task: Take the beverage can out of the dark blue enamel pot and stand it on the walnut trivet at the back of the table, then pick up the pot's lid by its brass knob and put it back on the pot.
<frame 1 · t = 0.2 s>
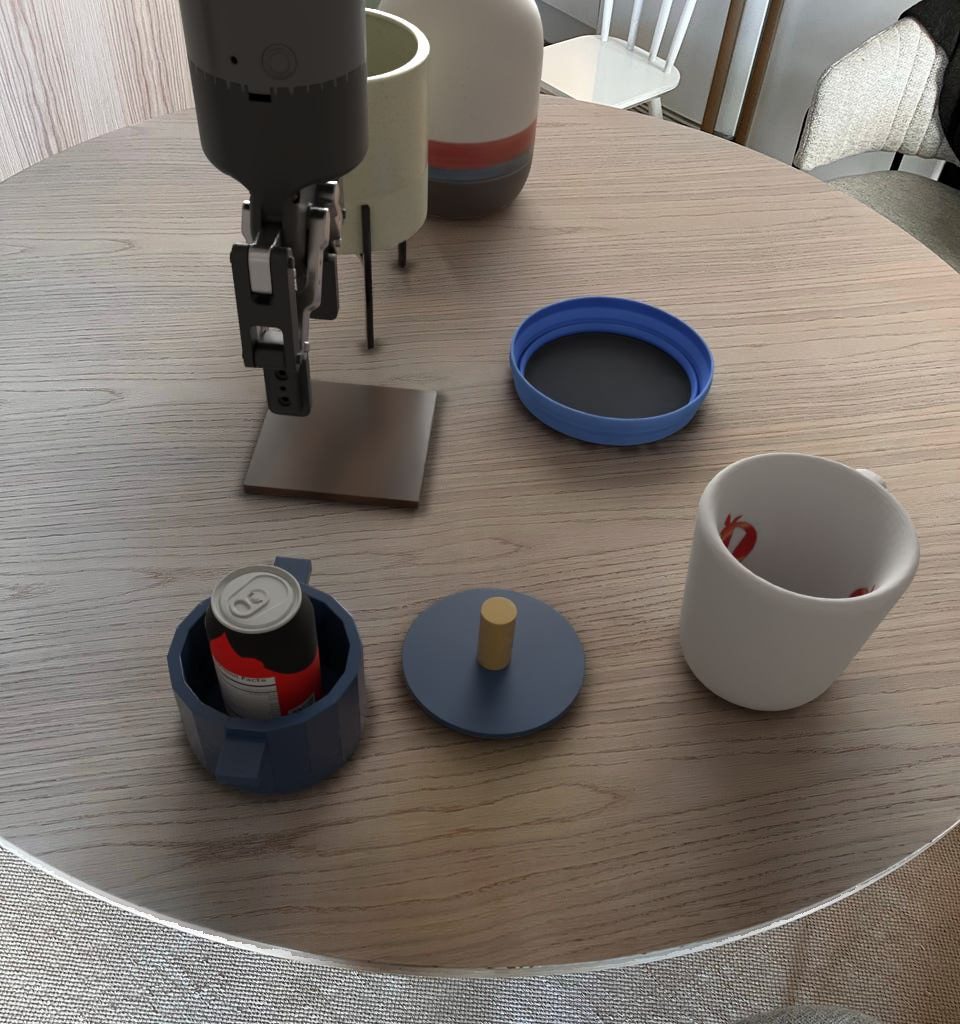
hand: (306, 361, 55), 23 cm above the table, tool pointing down, fingers open, 8 cm apart
planter: (349, 299, 99), on the table
beverage can: (277, 716, 68), resting on pot
pot: (277, 718, 68), on the table
pot lid: (493, 662, 71), point 1 cm above the table
trivet: (345, 443, 85), on the table
bowl: (605, 388, 92), on the table
vase: (453, 193, 112), on the table
cup: (768, 640, 75), on the table
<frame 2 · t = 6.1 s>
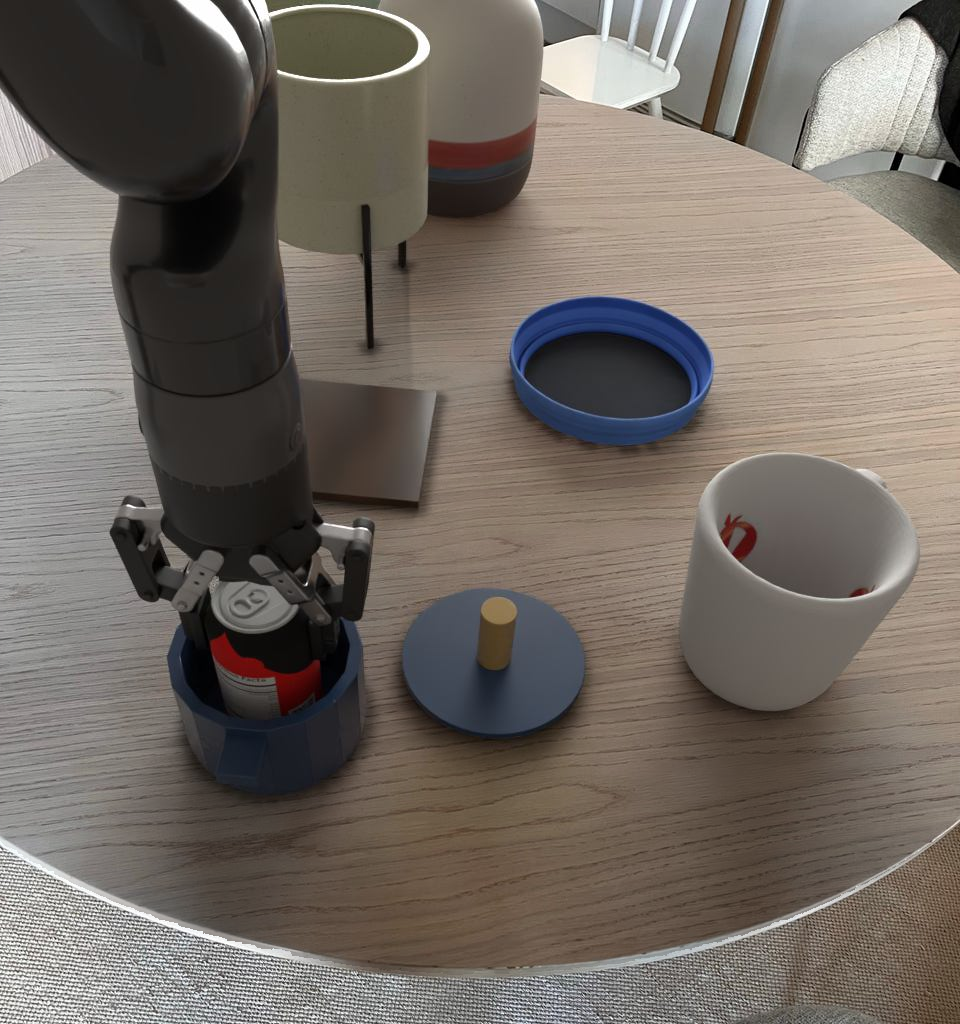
hand: (264, 643, 62), 8 cm above the table, tool pointing down, fingers closed on beverage can, 6 cm apart
beverage can: (277, 716, 68), resting on pot, touching gripper
everything else where it was.
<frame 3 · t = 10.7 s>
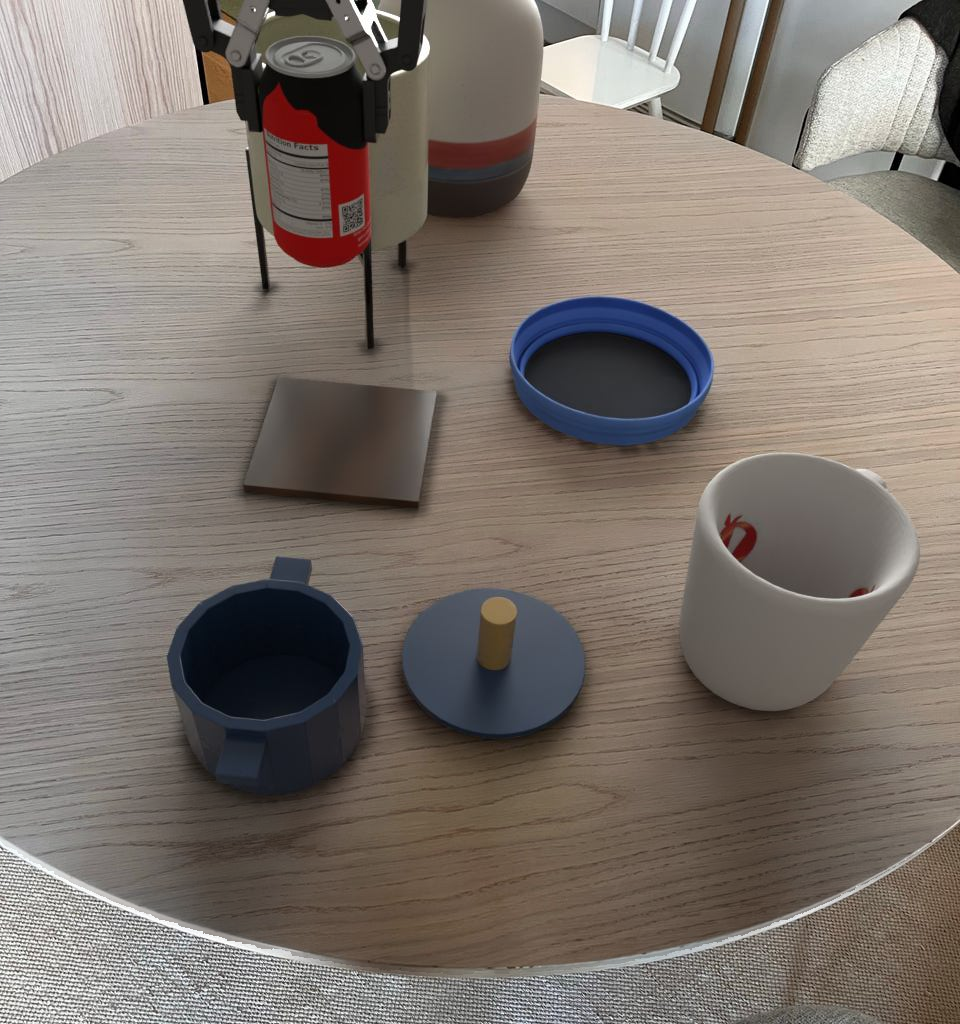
hand: (315, 130, 61), 28 cm above the table, tool pointing down, fingers closed on beverage can, 6 cm apart
beverage can: (324, 251, 67), point 20 cm above the table, touching gripper
everything else where it was.
when the fingers open (8 cm above the table, at t = 15.7 s): beverage can stays where it is, resting on trivet.
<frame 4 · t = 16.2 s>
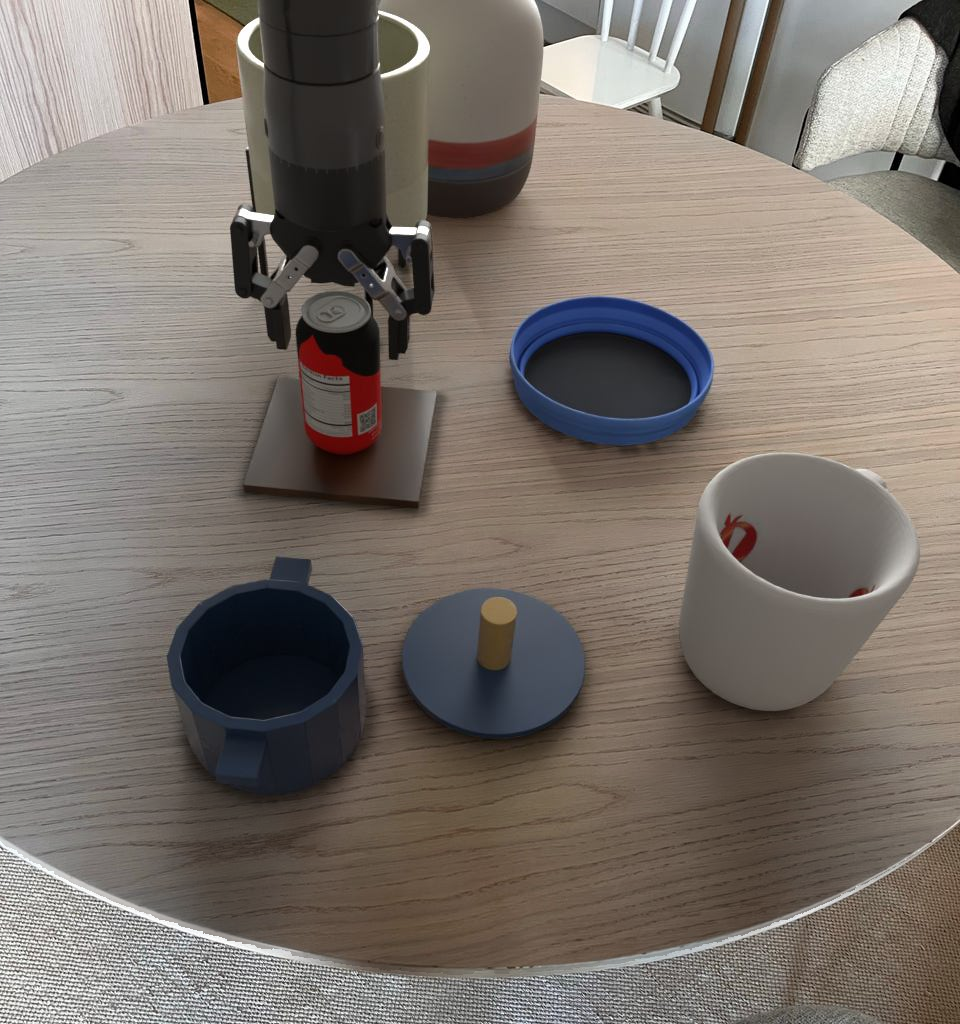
hand: (339, 348, 78), 9 cm above the table, tool pointing down, fingers open, 8 cm apart
beverage can: (344, 437, 85), point 1 cm above the table, touching trivet
everything else where it was.
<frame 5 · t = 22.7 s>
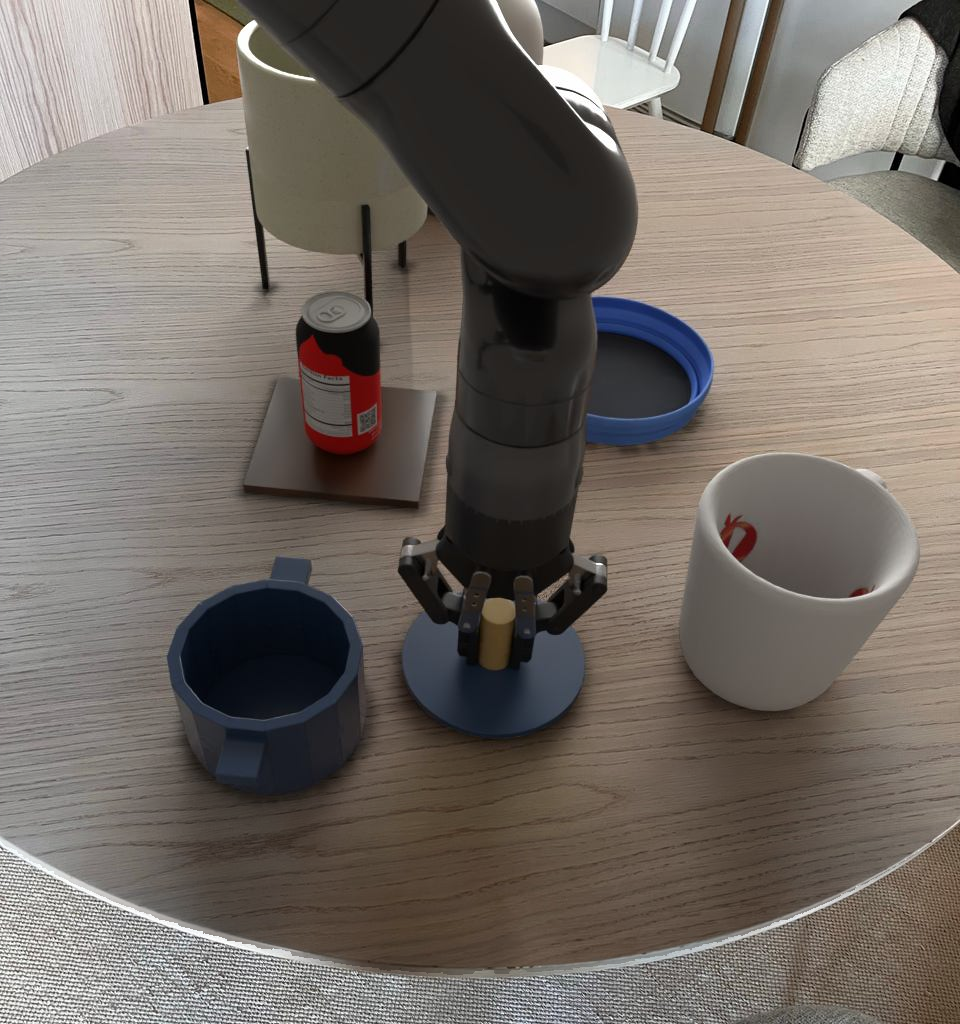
hand: (493, 655, 70), 1 cm above the table, tool pointing down, fingers closed on pot lid, 2 cm apart
pot lid: (493, 662, 71), point 1 cm above the table, touching gripper
everything else where it was.
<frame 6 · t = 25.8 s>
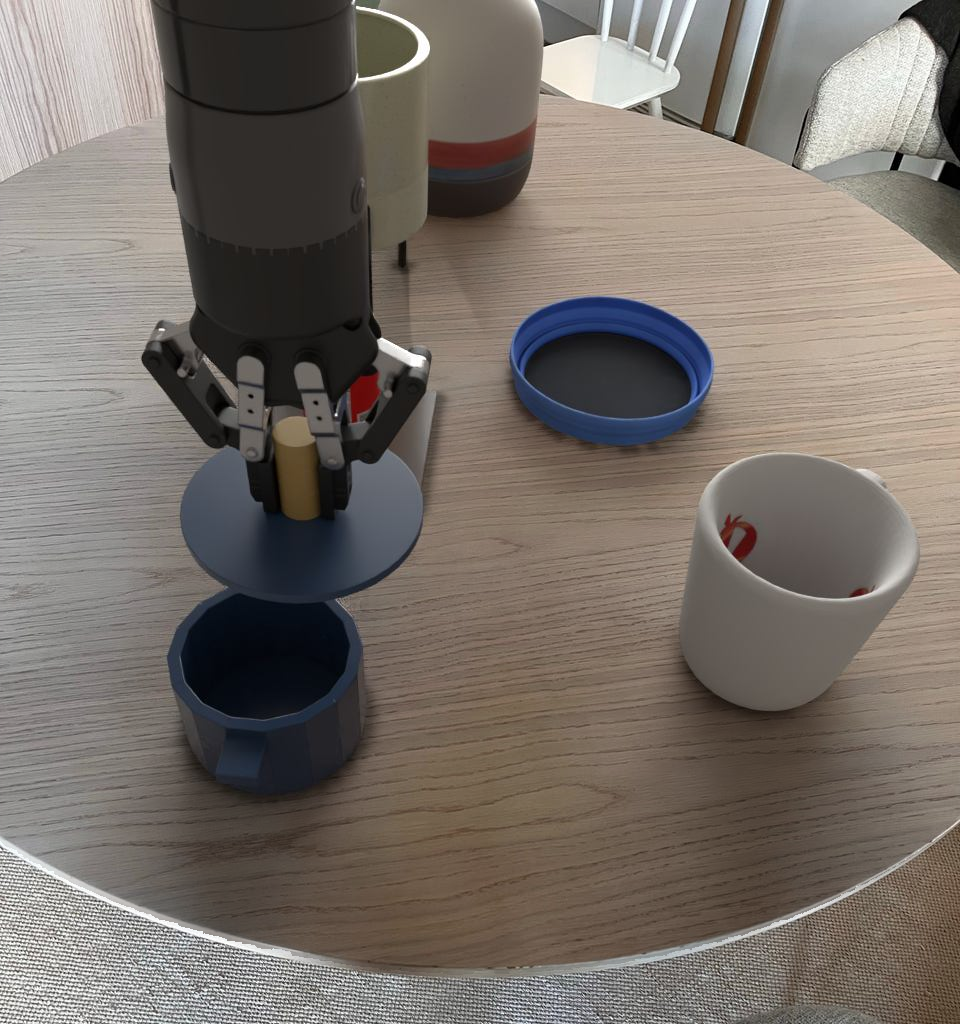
hand: (302, 503, 54), 19 cm above the table, tool pointing down, fingers closed on pot lid, 2 cm apart
pot lid: (304, 513, 55), point 18 cm above the table, touching gripper
everything else where it was.
when the fingers open (8 cm above the table, at t = 29.0 s): pot lid stays where it is, resting on pot.
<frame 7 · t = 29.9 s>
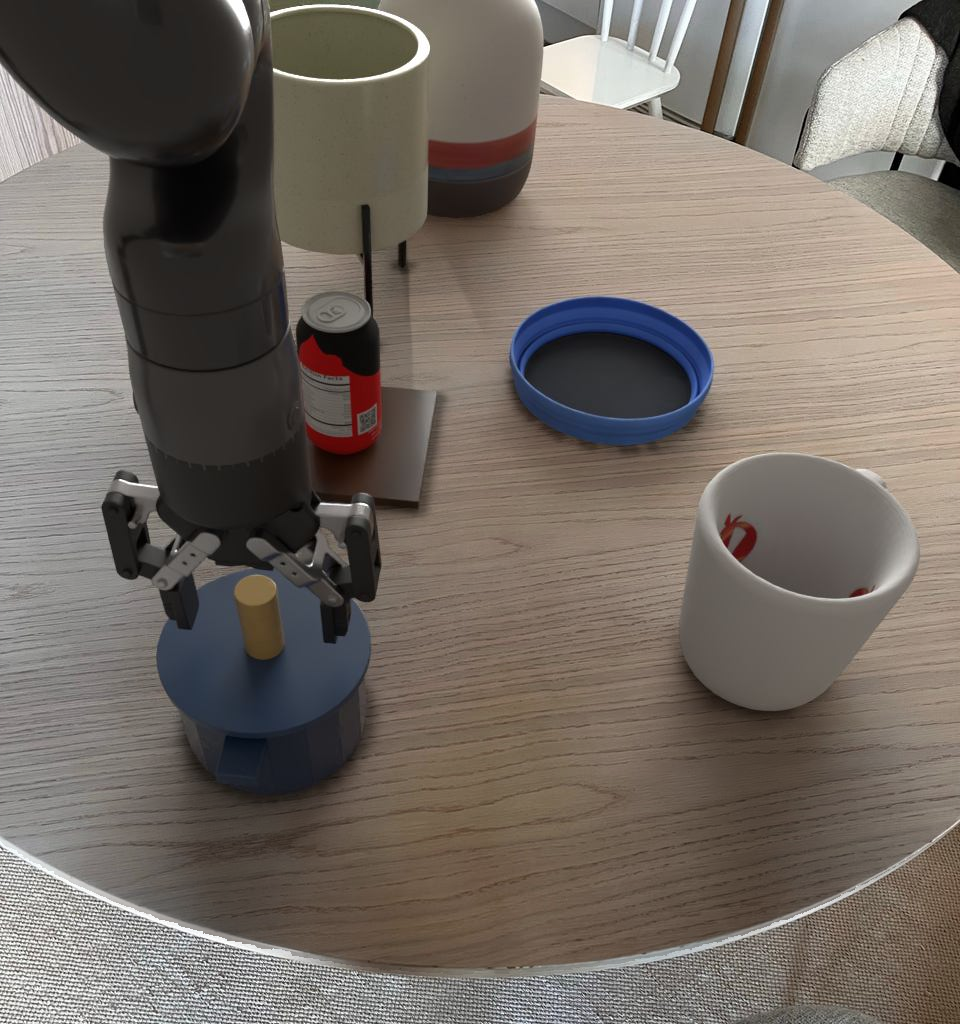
hand: (260, 625, 60), 10 cm above the table, tool pointing down, fingers open, 8 cm apart
pot lid: (265, 650, 62), point 7 cm above the table, touching pot
everything else where it was.
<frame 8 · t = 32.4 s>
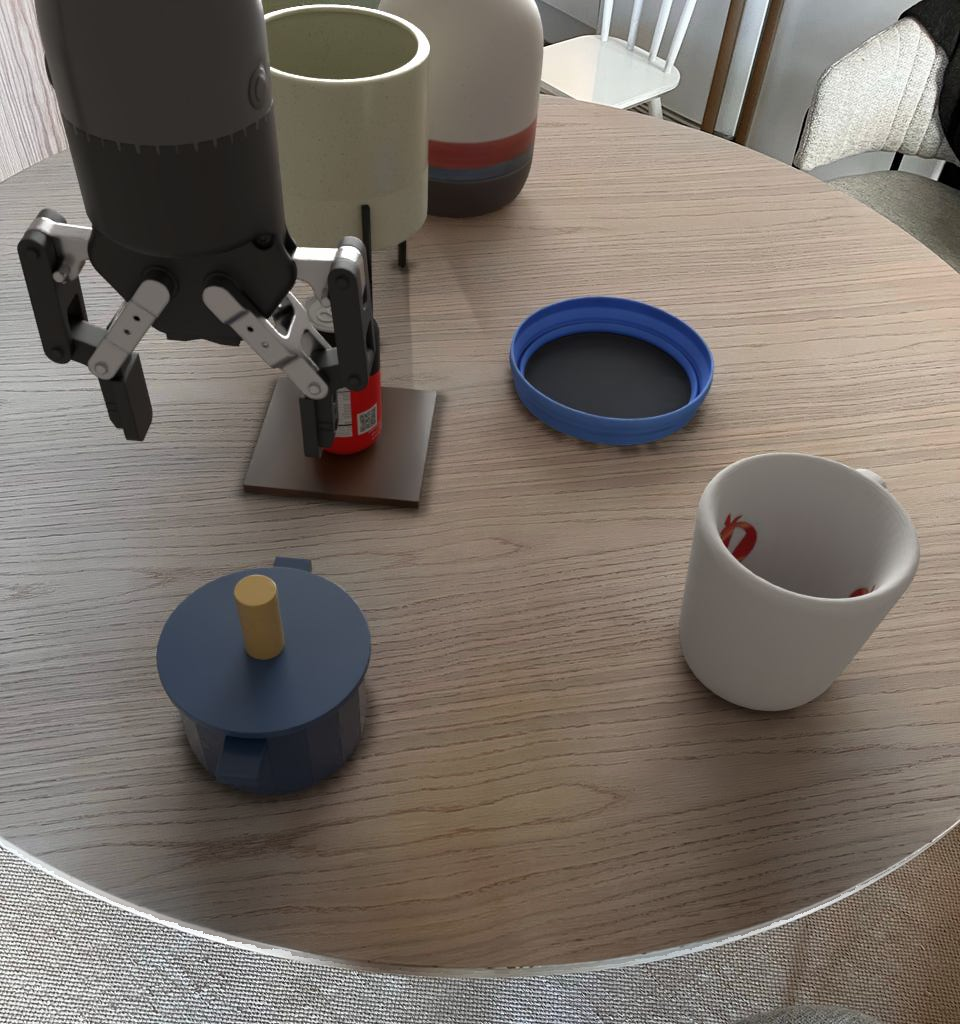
hand: (228, 438, 49), 24 cm above the table, tool pointing down, fingers open, 8 cm apart
nothing on the table moved.
at the end: beverage can inside the target area on the trivet (0.1 cm from its centre), point 0.6 cm above the trivet's base; beverage can tilted 0°; pot lid 0.0 cm off-centre on the pot, point 7.4 cm above the pot's base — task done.
